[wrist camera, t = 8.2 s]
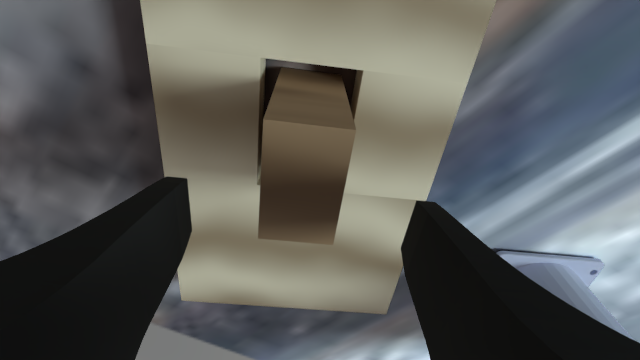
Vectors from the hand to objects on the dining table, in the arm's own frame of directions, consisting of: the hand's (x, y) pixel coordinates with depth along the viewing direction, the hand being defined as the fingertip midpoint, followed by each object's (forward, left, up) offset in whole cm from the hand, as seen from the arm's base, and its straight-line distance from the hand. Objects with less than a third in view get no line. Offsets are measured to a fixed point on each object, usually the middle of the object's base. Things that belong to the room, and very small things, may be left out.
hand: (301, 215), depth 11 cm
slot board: (-2, 0, -9) cm, 9 cm away
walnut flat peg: (0, 0, -9) cm, 9 cm away
